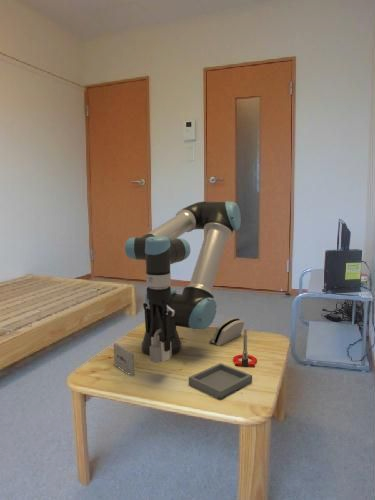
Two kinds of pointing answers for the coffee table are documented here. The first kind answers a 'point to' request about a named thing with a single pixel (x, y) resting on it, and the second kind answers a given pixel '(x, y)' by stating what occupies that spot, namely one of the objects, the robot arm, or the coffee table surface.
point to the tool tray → (220, 380)
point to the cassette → (124, 358)
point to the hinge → (227, 331)
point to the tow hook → (245, 356)
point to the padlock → (157, 349)
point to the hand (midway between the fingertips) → (160, 357)
